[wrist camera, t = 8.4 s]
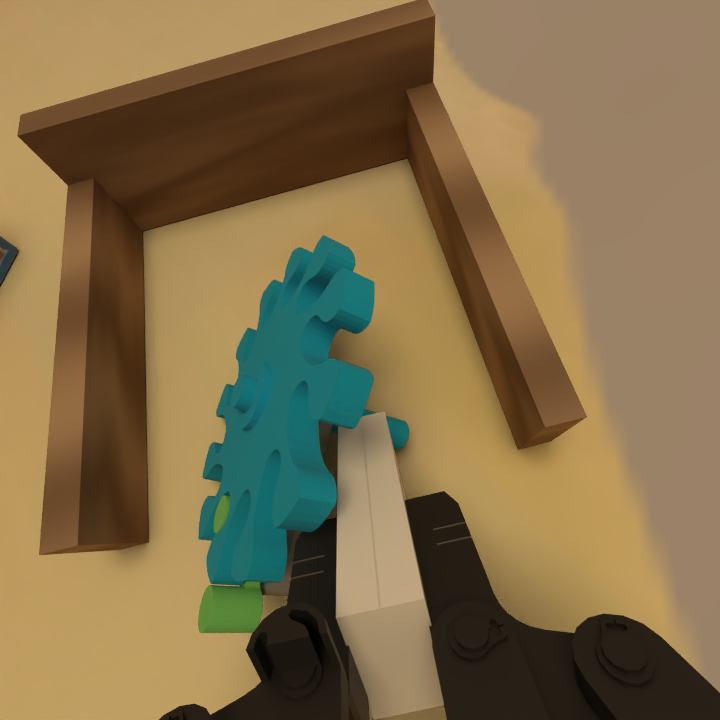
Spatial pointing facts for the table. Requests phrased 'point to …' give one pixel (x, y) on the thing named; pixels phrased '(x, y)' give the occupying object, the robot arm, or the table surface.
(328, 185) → the table surface
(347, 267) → the gear
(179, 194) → the wooden u-shaped enclosure
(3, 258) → the stack of blocks
